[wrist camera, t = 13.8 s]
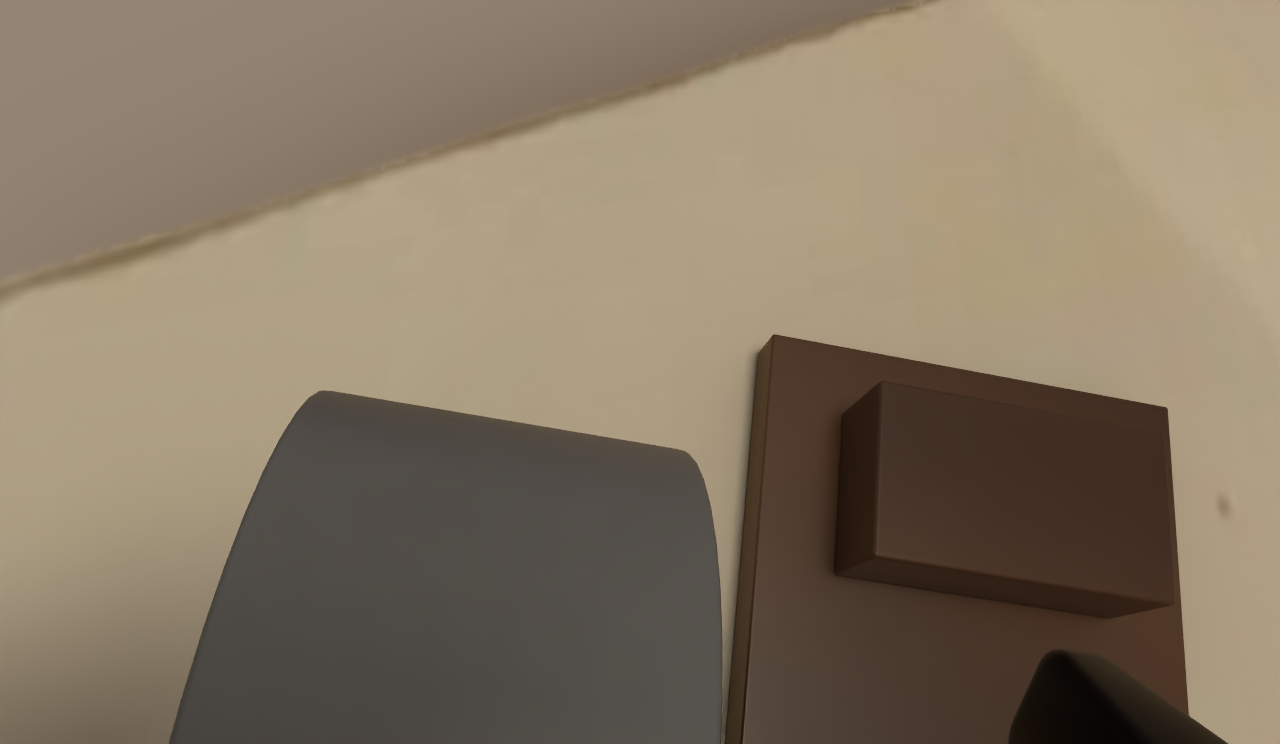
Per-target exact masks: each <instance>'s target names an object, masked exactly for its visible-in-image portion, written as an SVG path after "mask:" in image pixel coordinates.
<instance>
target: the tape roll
mask: <svg viewBox="0 0 1280 744" xmlns="http://www.w3.org/2000/svg"><path fill="white" fill-rule="evenodd" d="M721 722H722V617H721V591H720V577H719V566H718V555H717V544H716V537H715V531H714V524H713V518H712V512H711V506H710V501H709V498H708V494H707V490H706V486H705V482H704V479H703V477H702V474H701V472H700V470H699V467H698V465H697V463H696V462H695V461H694V459H693V458H692V457H691V456H690V455H689V454H688V453H687V452H685V451H682V450H678V449H673V448H667V447H661V446H655V445H649V444H643V443H638V442H632V441H626V440H620V439H614V438H608V437H602V436H596V435H590V434H584V433H578V432H572V431H566V430H560V429H554V428H548V427H542V426H536V425H530V424H524V423H518V422H513V421H507V420H501V419H495V418H489V417H483V416H477V415H471V414H465V413H459V412H453V411H447V410H441V409H435V408H429V407H423V406H417V405H411V404H405V403H399V402H394V401H388V400H382V399H376V398H370V397H364V396H358V395H352V394H346V393H340V392H334V391H319V392H317V393H316V394H314V395H313V396H311V397H309V398H308V399H307V400H306V402H305V403H304V404H303V405H302V406H301V407H300V409H299V410H298V411H297V412H296V414H295V415H294V417H293V418H292V420H291V422H290V423H289V425H288V426H287V428H286V430H285V431H284V433H283V434H282V436H281V438H280V439H279V441H278V443H277V445H276V447H275V449H274V451H273V453H272V455H271V457H270V459H269V461H268V463H267V465H266V467H265V469H264V471H263V473H262V475H261V477H260V480H259V482H258V484H257V487H256V489H255V491H254V493H253V496H252V498H251V500H250V503H249V505H248V507H247V509H246V512H245V514H244V517H243V519H242V522H241V525H240V527H239V530H238V532H237V535H236V538H235V540H234V543H233V545H232V548H231V551H230V553H229V556H228V558H227V561H226V564H225V566H224V569H223V572H222V575H221V578H220V581H219V584H218V586H217V589H216V592H215V595H214V598H213V601H212V604H211V607H210V610H209V613H208V616H207V619H206V621H205V624H204V627H203V630H202V633H201V637H200V640H199V643H198V646H197V650H196V653H195V656H194V659H193V663H192V666H191V669H190V672H189V676H188V679H187V682H186V685H185V688H184V692H183V695H182V698H181V701H180V705H179V709H178V712H177V716H176V719H175V723H174V727H173V730H172V734H171V737H170V741H169V744H721Z"/></svg>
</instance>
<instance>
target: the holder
mask: <svg viewBox="0 0 1280 744" xmlns="http://www.w3.org/2000/svg"><path fill="white" fill-rule="evenodd" d="M1054 649H1065V650H1072V651H1078V652H1085V653H1092V654H1097V655H1100V656H1103V657H1105V658H1107V659H1108V660H1110V661H1111V662H1113V663H1114V664H1115V665H1117V666H1118V667H1120V668H1121V669H1123V670H1124V671H1125V672H1127V673H1128V674H1130V675H1131V676H1133V677H1134V678H1135V679H1137V680H1138V681H1140V682H1141V683H1143V684H1144V685H1145V686H1147V687H1148V688H1150V689H1151V690H1153V691H1154V692H1155V693H1157V694H1158V695H1160V696H1161V697H1163V698H1164V699H1165V700H1167V701H1168V702H1170V703H1171V704H1173V705H1174V706H1175V707H1177V708H1178V709H1180V710H1181V711H1182V712H1184V713H1185V714H1187V715H1188V716H1189V712H1188V698H1187V683H1186V669H1185V654H1184V640H1183V625H1182V611H1181V596H1180V582H1179V567H1178V553H1177V538H1176V523H1175V509H1174V494H1173V480H1172V465H1171V451H1170V436H1169V422H1168V409H1167V408H1166V407H1161V406H1156V405H1151V404H1145V403H1140V402H1135V401H1129V400H1124V399H1118V398H1113V397H1108V396H1102V395H1097V394H1092V393H1086V392H1081V391H1076V390H1070V389H1065V388H1059V387H1054V386H1049V385H1043V384H1038V383H1033V382H1027V381H1022V380H1016V379H1011V378H1006V377H1000V376H995V375H990V374H984V373H979V372H973V371H968V370H963V369H957V368H952V367H947V366H941V365H936V364H930V363H925V362H920V361H914V360H909V359H904V358H898V357H893V356H887V355H882V354H877V353H871V352H866V351H861V350H855V349H850V348H844V347H839V346H834V345H828V344H823V343H818V342H812V341H807V340H801V339H796V338H791V337H785V336H780V335H773V336H772V337H771V338H770V339H769V341H768V342H767V343H766V344H765V346H764V347H763V348H762V349H761V351H760V352H759V354H758V363H757V375H756V387H755V399H754V411H753V423H752V435H751V447H750V459H749V471H748V483H747V495H746V506H745V518H744V530H743V542H742V554H741V566H740V578H739V590H738V602H737V614H736V626H735V638H734V650H733V662H732V674H731V685H730V697H729V709H728V721H727V733H726V744H1008V736H1009V731H1010V727H1011V724H1012V721H1013V719H1014V717H1015V714H1016V712H1017V710H1018V708H1019V706H1020V703H1021V701H1022V699H1023V697H1024V695H1025V692H1026V690H1027V688H1028V686H1029V684H1030V681H1031V679H1032V677H1033V675H1034V673H1035V670H1036V668H1037V666H1038V664H1039V662H1040V661H1041V659H1042V657H1043V656H1044V655H1045V654H1046V653H1048V652H1049V651H1052V650H1054Z"/></svg>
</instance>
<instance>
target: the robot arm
mask: <svg viewBox="0 0 1280 744" xmlns="http://www.w3.org/2000/svg"><path fill="white" fill-rule="evenodd" d="M1008 744H1228V743H1227V742H1225V741H1224V740H1222V739H1221V738H1220V737H1218V736H1217V735H1215V734H1214V733H1212V732H1211V731H1210V730H1208V729H1207V728H1205V727H1204V726H1202V725H1201V724H1200V723H1198V722H1197V721H1195V720H1194V719H1192V718H1191V717H1190V716H1188V715H1187V714H1185V713H1184V712H1182V711H1181V710H1180V709H1178V708H1177V707H1175V706H1174V705H1173V704H1171V703H1170V702H1168V701H1167V700H1165V699H1164V698H1163V697H1161V696H1160V695H1158V694H1157V693H1155V692H1154V691H1153V690H1151V689H1150V688H1148V687H1147V686H1145V685H1144V684H1143V683H1141V682H1140V681H1138V680H1137V679H1135V678H1134V677H1133V676H1131V675H1130V674H1128V673H1127V672H1125V671H1124V670H1123V669H1121V668H1120V667H1118V666H1117V665H1115V664H1114V663H1113V662H1111V661H1110V660H1108V659H1107V658H1105V657H1103V656H1100V655H1097V654H1092V653H1085V652H1078V651H1072V650H1065V649H1054V650H1052V651H1049V652H1048V653H1046V654H1045V655H1044V656H1043V657H1042V659H1041V661H1040V662H1039V664H1038V666H1037V668H1036V670H1035V673H1034V675H1033V677H1032V679H1031V681H1030V684H1029V686H1028V688H1027V690H1026V692H1025V695H1024V697H1023V699H1022V701H1021V703H1020V706H1019V708H1018V710H1017V712H1016V714H1015V717H1014V719H1013V721H1012V724H1011V727H1010V731H1009V736H1008Z"/></svg>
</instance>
